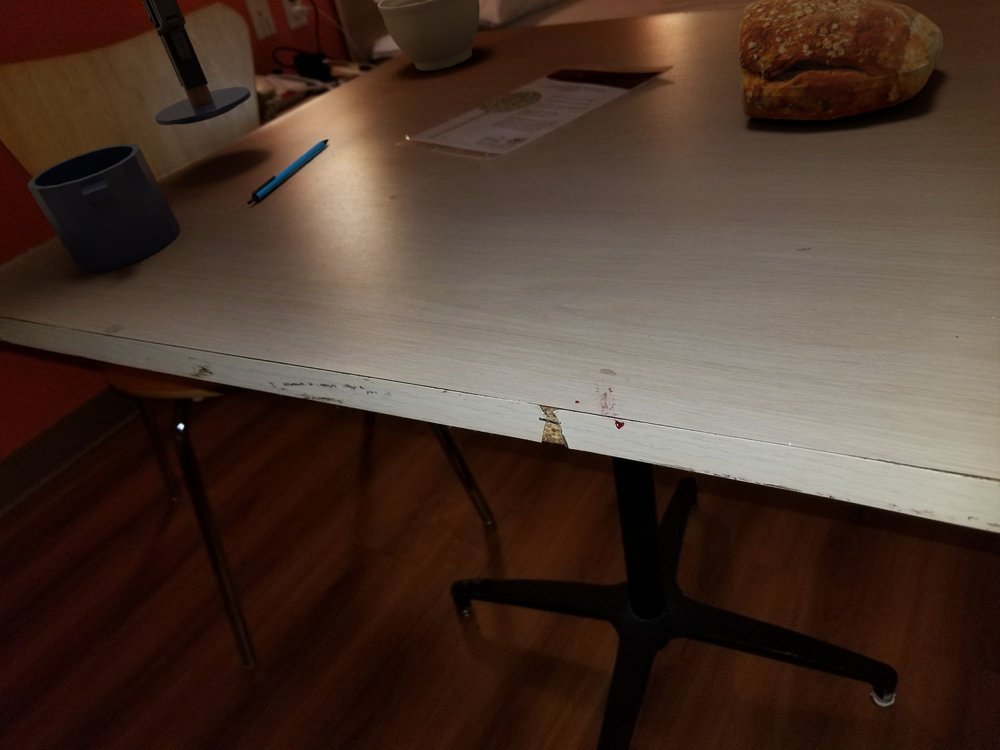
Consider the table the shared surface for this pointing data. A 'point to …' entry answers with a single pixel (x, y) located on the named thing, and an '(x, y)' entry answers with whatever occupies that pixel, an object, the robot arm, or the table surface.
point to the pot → (106, 207)
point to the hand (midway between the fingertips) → (194, 84)
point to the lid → (201, 103)
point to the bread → (832, 57)
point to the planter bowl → (432, 30)
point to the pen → (286, 172)
